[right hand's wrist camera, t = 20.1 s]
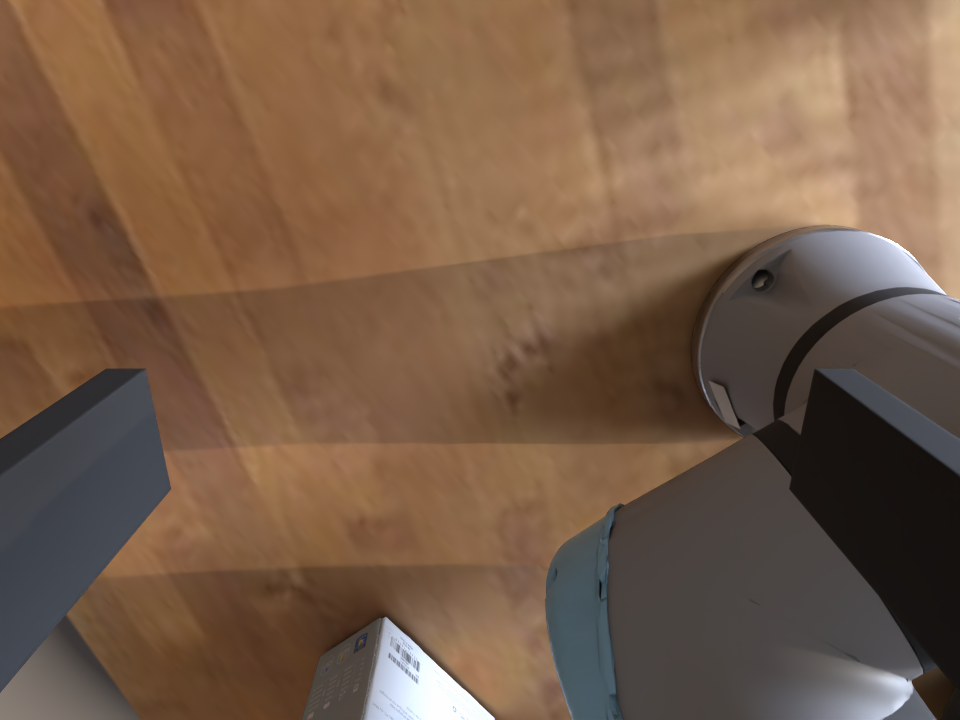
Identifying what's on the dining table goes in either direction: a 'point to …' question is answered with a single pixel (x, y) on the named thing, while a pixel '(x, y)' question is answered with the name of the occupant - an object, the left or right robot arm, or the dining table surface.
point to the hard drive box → (385, 682)
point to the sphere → (952, 707)
